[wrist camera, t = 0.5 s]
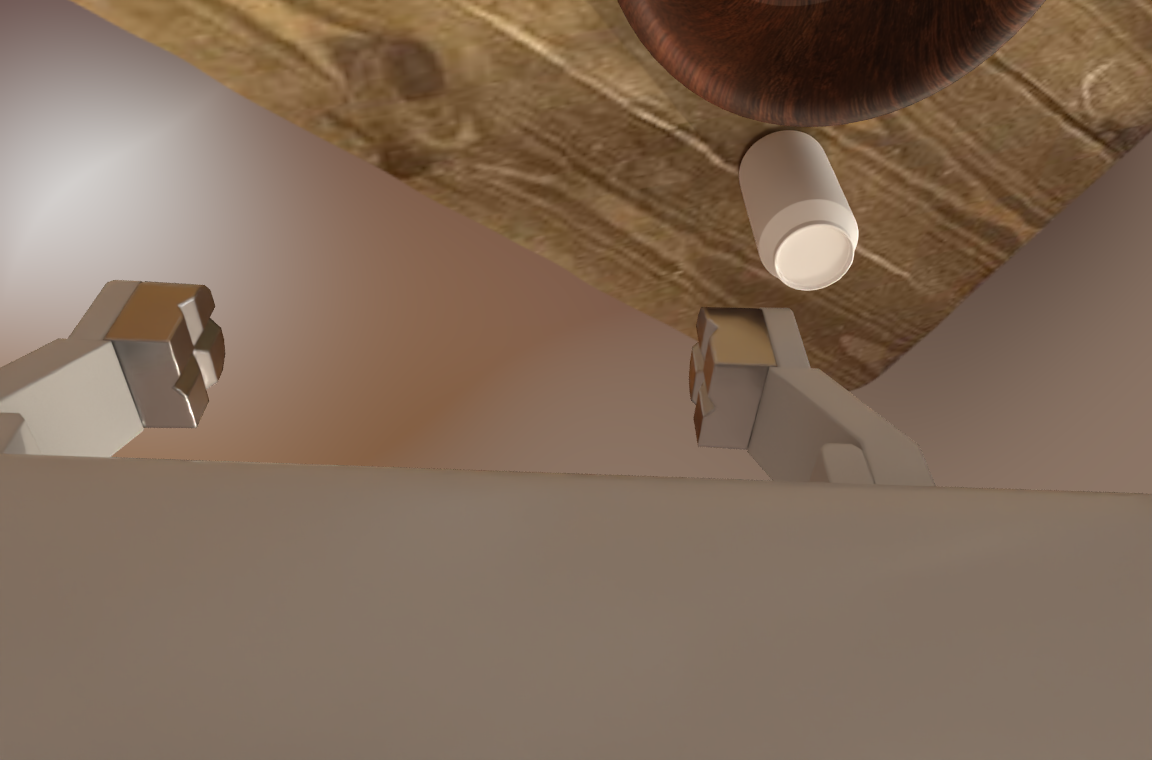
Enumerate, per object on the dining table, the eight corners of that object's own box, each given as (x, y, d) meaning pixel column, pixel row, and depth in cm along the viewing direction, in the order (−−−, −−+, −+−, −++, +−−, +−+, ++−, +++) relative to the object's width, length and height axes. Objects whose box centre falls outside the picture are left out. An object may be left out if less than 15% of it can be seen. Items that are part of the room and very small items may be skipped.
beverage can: (756, 114, 61) (787, 204, 52) (839, 135, 62) (883, 227, 53) (724, 192, 65) (747, 288, 56) (802, 211, 66) (838, 307, 57)
